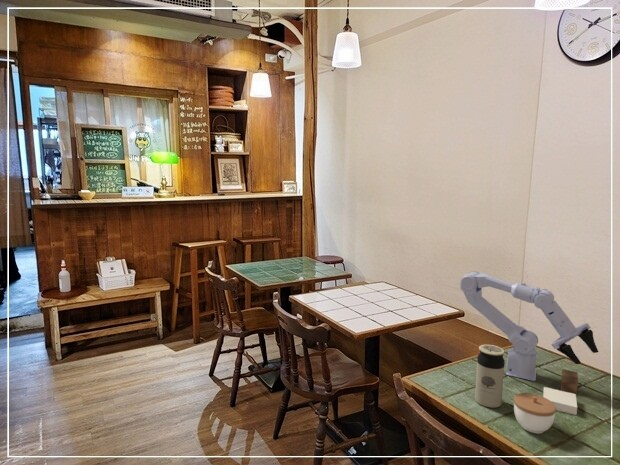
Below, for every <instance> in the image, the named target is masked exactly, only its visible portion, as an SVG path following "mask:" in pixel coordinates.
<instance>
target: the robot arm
mask: <svg viewBox="0 0 620 465" xmlns="http://www.w3.org/2000/svg"><path fill="white" fill-rule="evenodd" d="M487 287H488V288H489V287H490V288H493V289H495V290H500V291H503V292H507V293H510V295H511V296H512V297H513V298H515V299H518V300H521V301H524V302H526V303H529V304H534V307H536V308H537V309H539V310H541V311H542V313H543V314H544V316H545V317H546V319H547V320H548V321H549V323H550V324H551V325H552V327H553V329H555V331H556V332H557V334H558V335H559V337H558V338H557V339H556V340H555V341H553V342H551V346H552V348H553V349H555V350H556V351H558V352H560V353H562V354H563V355H565V356H566V357H567V358H568V359H569V360H570V361H572V362H573V363H574V364H575V365H580V364H581V363H582V362H581V360H580V359H579V357H578V356H577V354H576V353H575V352H574V350H573V348H572V346H571V344H567V343H568V342H570V341H571V340H574V339H575V338H577V337H579V338H580V340H582V341H583V342H584V344H585V345H586V346H587V347H588V349H589V350H590V351H591V352H592V353H593V354H595V353H599V350H598V347H597V345H596V343H595V338H594V331H593V330H592V329H591V326H590V324H589V323H588V322H585V323H582V324H581V325H579V326H577V327H576V326H575V324H574V323H573V322H572V320H571V319H570V318H569V316H568V315H567V314H566V312H565V311H564V309H562V307H561V306H560V305H559V303H558V302H557V301H556V300H555V294H554V293H552V291H550V290H548V289H546V288H540V287H534V286H531V285H527V284H526V282H521V283H520V282H516V283H511V282H508V281H505V280H502V279H500V278H497V277H494V276H492V275H489V274H487V273H484V272H479V271H476V270H475V271H471V272H469V273H467V274H465V275H463V276H462V277H461V278H460V280H459V288H460V291H462V292H463V294H464V297H465V299H466V302H467V303H468V304H469V305H470V306H471V307H473V308H474V309H475V310H476V311H477V312H479V313H480V314H481V315H482V316H483V317H485V318H486V319H487V320H488V321H489V322H490V323H492V324H493V325H494V326H495V327H496V328H498V329H499V330H500V331H501V332H502V333H503V334H505V335H506V336H507V338H508V341H509V343H510V344H512V345H513V347H514V348H508V352H507V359H506V360H507V362H506V364H505V367H506V375H507V376H511V377H515V378H517V379H518V378H520V379H523V380H529V381H532V382H536V380H537V379H536V378H537V371H536V365H537V364H536V363H537V349H536V347H537V345H538V343H539V337H538V335H537V334H536V333H534V332H533V331H531V330H528V329H526V328H525V327H523V326H520V325H519V324H517V323H515V322H513V320H511V319H510V318H509V317H508V316H506V315H505V314H504V313H503V312H501V310H499V309H498V308H497V307H495V305H493V304H492V303H491V302H489V301H488V300H487V299H486V298H484V297H483V295H482V294H483V292H482V291H483V290H482V289H483V288H487Z"/></svg>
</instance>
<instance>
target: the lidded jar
mask: <svg viewBox="0 0 620 465" xmlns="http://www.w3.org/2000/svg"><path fill="white" fill-rule="evenodd" d="M556 411H557V410H556V407H555V405H554V404H553V403H552V402H551V401H550V400H548V399H546V398H544V397H543V395H542V396H541V395H540V394H539V395H538V394H535V393H528V392H520V393H518V394H517V393H516V394H515V395H514V397H513V413H514V416H515V419H516V421H517V422H518V423H519V425H520V427H521V428H522V429H523V430H525V431H526V432H528V433H532V434H536V435H537V434H538V435H539V434H543V433H544V432H545V431H548V430H549V429H550V428H551V427H552V426H553V424H554V422H555V417H556Z"/></svg>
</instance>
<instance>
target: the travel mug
mask: <svg viewBox="0 0 620 465" xmlns="http://www.w3.org/2000/svg"><path fill="white" fill-rule="evenodd" d="M478 350H479V352H480V353H478V355H477V361H476V376H475V388H474V389H475V390H474V400H475V402H477V403H478V404H479V405H481V406H484V407H487V408H491V409H492V408H499V407H500V406H502V402H503V400H502V399H503V388H504V377H505V376H504V373H505V365H506V364H505V363H506V361H505V358H504V354H505V350H504V349H503V348H502V347H501V346H497V345H493V344H481V345H479V347H478Z"/></svg>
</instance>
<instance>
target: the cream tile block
mask: <svg viewBox="0 0 620 465" xmlns="http://www.w3.org/2000/svg"><path fill="white" fill-rule="evenodd" d="M542 394H543V395H542V397H544V398H546V399H548V400H550V401H551V402H552V403H553V404H554V405H555V407H556V411H557V412H561V413H562V412H563V413H565V414H570V415H572V416H577V415H578V414H577V413H578V403H577V394H573V393H569V392H564V391H561V389H560V390H559V389H554V388H551V387H547V386H543V392H542Z"/></svg>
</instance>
